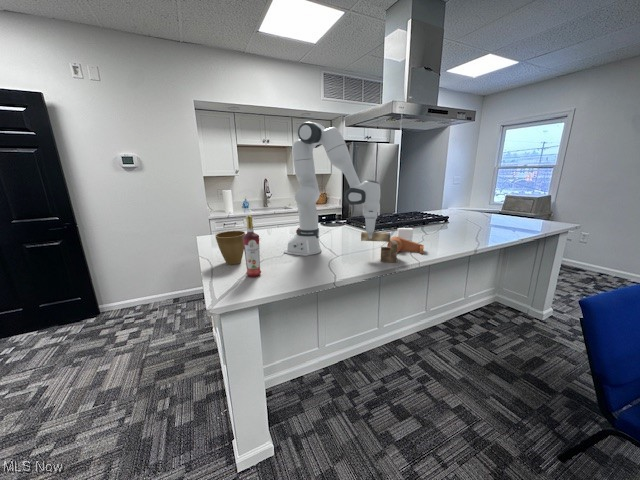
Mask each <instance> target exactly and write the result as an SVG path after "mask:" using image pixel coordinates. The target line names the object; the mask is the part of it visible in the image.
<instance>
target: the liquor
mask: <svg viewBox="0 0 640 480" xmlns="http://www.w3.org/2000/svg"><path fill="white" fill-rule="evenodd" d="M245 219H246V233H245V235H244V236H243V237H242V238H243V245H244V252H243V253H244V257H245V258H244V259H245V265H246V275H247V276H249V277H250V278H257V277H259V276H260V275H261V273H262V271H261V264H260V263H261V261H260V260H261V258H260V235H259V234H258V233H255V232H254V226H253V216H252V215H246V216H245Z"/></svg>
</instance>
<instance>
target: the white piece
mask: <svg viewBox="0 0 640 480" xmlns="http://www.w3.org/2000/svg"><path fill="white" fill-rule="evenodd" d="M413 233H414V228H412V227H397V236H396V237H400V238H403V239H406V240H409V241H412V242H413V235H414V234H413ZM397 246H398V245H397Z"/></svg>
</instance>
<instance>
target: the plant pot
mask: <svg viewBox="0 0 640 480" xmlns="http://www.w3.org/2000/svg"><path fill="white" fill-rule="evenodd" d="M245 234H246V232H245V231H243V230H230V231H229V230H228V231H222V232H219V233H216V234H215V241H216V242H217V245H218V249H219V251H220V254H221V256H222V258H223V260H224V262H225V263H226V264H227V265H229V266H232V265H233V266H234V265H238V264H241V263H242V260H243V257H244V253H245V252H244V245H243V238H242V237H243V236H244V235H245Z"/></svg>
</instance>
